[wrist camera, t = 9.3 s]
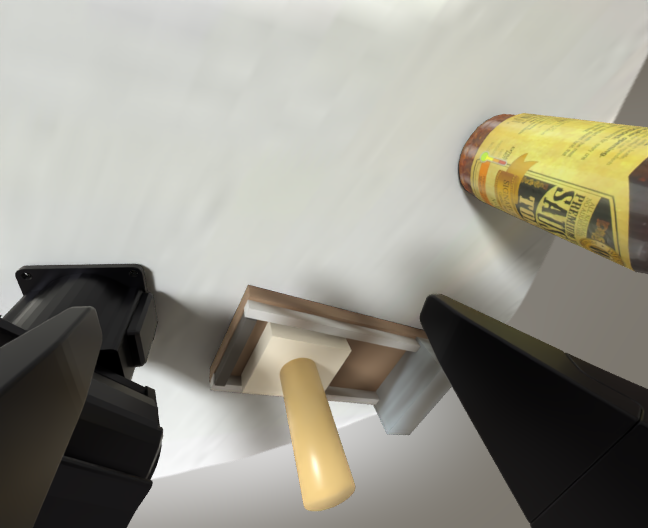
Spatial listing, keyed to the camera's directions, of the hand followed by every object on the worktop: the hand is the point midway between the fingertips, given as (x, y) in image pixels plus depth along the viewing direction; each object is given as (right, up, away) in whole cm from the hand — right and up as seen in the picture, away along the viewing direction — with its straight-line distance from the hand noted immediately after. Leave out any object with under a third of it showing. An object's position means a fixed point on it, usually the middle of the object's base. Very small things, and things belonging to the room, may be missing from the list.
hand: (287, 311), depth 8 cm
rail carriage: (-2, -6, +17) cm, 18 cm away
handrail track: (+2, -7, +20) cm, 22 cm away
